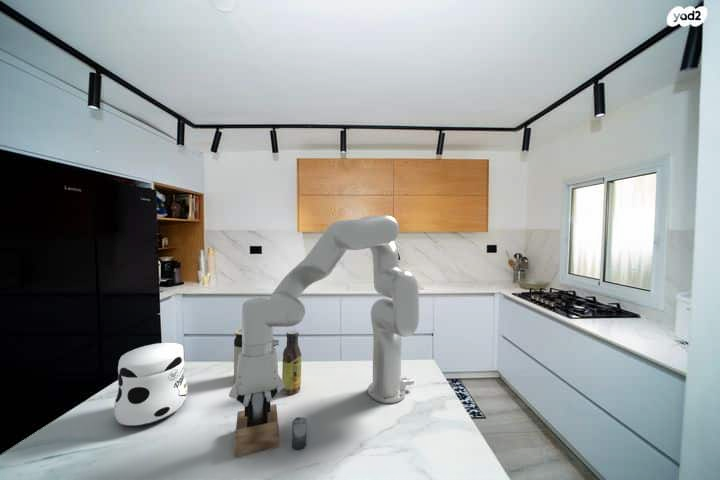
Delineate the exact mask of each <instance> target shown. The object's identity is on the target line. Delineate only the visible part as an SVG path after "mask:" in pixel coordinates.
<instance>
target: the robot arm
mask: <svg viewBox="0 0 720 480" xmlns="http://www.w3.org/2000/svg"><path fill="white" fill-rule="evenodd" d="M399 232H400V225H399V223H398V221H397V219H395V218H394V217H393V216H391V215H387V214H385V215H384V214H383V215H369V216H364V217H361V218H359V219H344V220H336V221H334V222H332V223H331V224H330V225H329V226H327V228H326V229H325V231H324V232H323V234H322V235H321V236H320V237H319V239H318V240H317V241H316V242H315V244H314V246H313V247H312V248H311V250H310V251H309V253H308V254H307V255H306V256H305V258H303V259H302V261H300V262H299V263H298V264H297V265H296V266H295V267H294V268H293V269H291V270H290V271H289V272H288V273H287V274H286V275H285V276H284V278H283V279H282V280H281V281H280V282H279V284H278V285H277V287H276V288H275V289H274V290H273V292H272V294H271V295H270V297H269V298H266V297H256V298H249V299H247V300H245V301H244V302H243V303H242V309H241V321H242V322H241V328H242V351H241V352H240V353H239V357H238V364H237V379H236V382H235V381H234V382H235V383H234V384H233V386H232V388H231V389H230V390H229V393H228V397H229V398H231V399H234V400H237V401H238V402H240V404H241V405H243V407H244V410H245V417H247V422H249V421H250V419H251V404H250V394H253V393H258V392H265V418H268V412H270V405H271V402H272V401H273V398H275V396H276V395H277V394H278V393H279V392H280V391H281V390H282V391H283V388H284V387H285V384H284V382H283V381H282V377H281V376H280V375H279V369H278V368H279V366H278V355H277V350H276V346H279V345H280V344H279V343H280V342H279V341H280V340H279V339H275V338H274V327H277V328H278V327H280V328H281V327H283V328H286V327H287V328H288V327H293V326H297V325H299V324H300V323H301V322H302V321H303V320H304V318H305V316H306V315H305V314H306V309H305V305H304V303H303V302H302V301H301V300H299V298H300V296H301V295H302V293H304V292H305V290H306V289H307V288H308V287H310V286H311V285H312V284H314V283H316V282H319V281H322V280H323V279H326V278H327V277H328V276H330V275H331V273H333V270H334V269H335V268H336V267H337V264H338V263H339V261H340V260H341V259H342V257H343V256H344V255H345V253H346V252H347V251H348V250H349V251H358V250H365V249H370V252H371V254H372V255H371V257H372V264H373V265H372V267H373V268H372V269H373V286H374V287H373V288H374V290H375V292H376V293H378V294H379V295H381V296H384V297H385V298H379V299H377V300H376V301H375V302H374V303H373V304H372V306H371V308H370V309H371V310H370V321H371V322H370V323H371V326H372V327H371V328H372V382H371V383H369V385H368V387H367V393H368V396H369V397H370V398H371V399H373V400H374V401H377V402H379V403H383V404H394V403H397V402H400V401H402V400H403V399H404V398H405V397H406V389H405V388H406V387H407V386H412V385H415V382H414V378H407V376H405V375H404V376H402V337H410V336H412V335H413V334H415V332H416V331H417V329H418V327H419V322H420V321H419V320H420V305H419V304H420V302H419V301H420V300H419V296H420V293H419V283H418V280H417V278H416V277H415V275H414V274H413V273H411V272H410V271H408V270H404V269H400V260H399V251H398V248H397V245H396V242H395V240H396V239H397V238H398V236H399Z"/></svg>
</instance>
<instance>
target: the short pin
mask: <svg viewBox="0 0 720 480" xmlns="http://www.w3.org/2000/svg"><path fill="white" fill-rule="evenodd" d="M291 422H292V423H291V424H292V425H291V448H292V449H293V451H294V450H295V451H302V450H304V449H305V448H306V447H307V443H308V442H307V439H308V437H307V436H308V435H307V434H308V433H307V431H308V429H307V428H308V426H307V425H308V423H307V422H308V421H307V418H306V417H304V416H298V417H295V418H293V419H292V421H291Z"/></svg>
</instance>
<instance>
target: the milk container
mask: <svg viewBox="0 0 720 480" xmlns="http://www.w3.org/2000/svg"><path fill="white" fill-rule="evenodd" d="M184 353H185V352H184V346H183V345H182V344H180V343H176V342H161V343H160V342H158V343H153V344H148V345H144V346H140V347H138V348H137V347H136V348H135V349H132V350H130V351H127V352H126V353H124V354H123V355H121V356H120V359H119V360H118V366H117V373H118V374H117V380H118V387H117V389H118V390H117V394H116V398H115V400H114V401H115V402H114V406H113V411H114V412H113V413H114V416H115V419H116V421H117V422H118V423H119V424H120V425H123V426H126V427H143V426H147V425H151V424H155V423H157V422H159V421H163V420H165V419H167V418H168V417H171V416H172V415H174V414H175V413H176V412H177V411H178V410H179V409H181V408H182V407H183V406H184V404H185V402H186V400H187V396H188V383H187V380H186V377H185V359H184V357H185V356H184V355H185V354H184Z"/></svg>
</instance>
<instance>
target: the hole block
mask: <svg viewBox="0 0 720 480" xmlns="http://www.w3.org/2000/svg"><path fill="white" fill-rule="evenodd" d="M277 407H278V406H277V404H270V412H268V418H265V424H261V425H256V426H252V427H250V421H249V422H247V417H245V409H244V410H239V411H237V415H236V416H237V417H236V424H235V426H236V427H235V432H234V458H239V457H243V456H247V455H250V454H251V455H252V454H254V453H259V452H263V451H267V450H271V449H275V448H279V446H280V445H279V444H280V443H279V439H280V438H279V436H280V434H279V433H280V432H279V431H280V430H279V429H280V427H279V417H278V409H277Z"/></svg>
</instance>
